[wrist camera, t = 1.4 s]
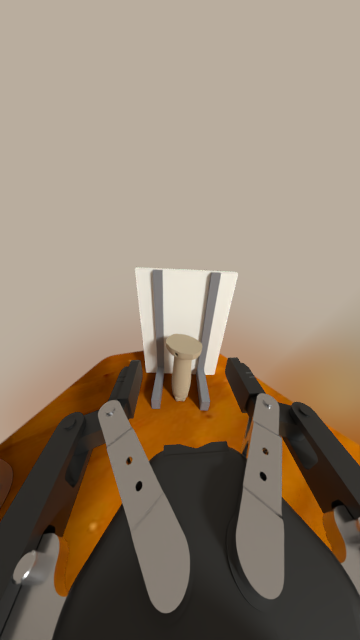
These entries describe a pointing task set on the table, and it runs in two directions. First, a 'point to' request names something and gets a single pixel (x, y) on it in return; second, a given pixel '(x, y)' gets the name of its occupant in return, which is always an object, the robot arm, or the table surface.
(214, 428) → the table surface
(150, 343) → the rack
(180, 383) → the handle
